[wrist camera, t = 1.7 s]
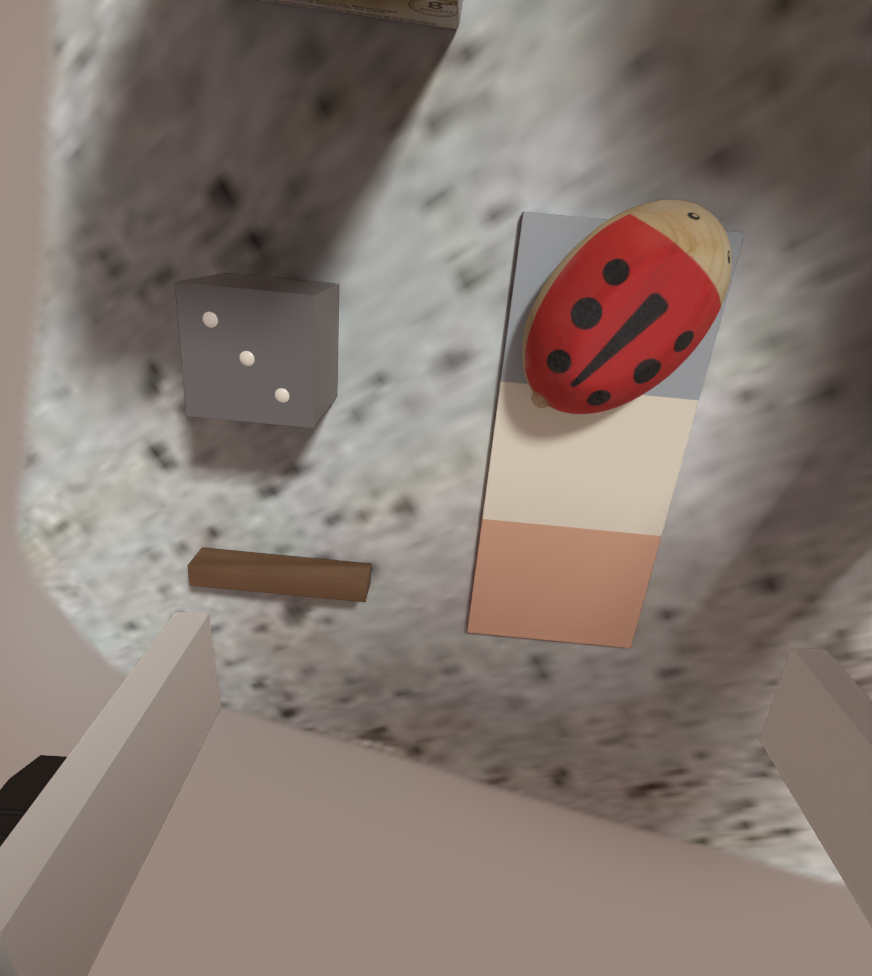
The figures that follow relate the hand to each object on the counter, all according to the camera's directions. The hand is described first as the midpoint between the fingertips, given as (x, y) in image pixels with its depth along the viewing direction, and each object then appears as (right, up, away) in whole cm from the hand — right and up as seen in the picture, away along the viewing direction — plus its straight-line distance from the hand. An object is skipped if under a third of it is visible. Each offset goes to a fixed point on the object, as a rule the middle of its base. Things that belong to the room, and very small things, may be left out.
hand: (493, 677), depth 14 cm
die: (-8, +11, +13) cm, 19 cm away
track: (+6, +6, +15) cm, 17 cm away
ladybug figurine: (+6, +12, +12) cm, 18 cm away
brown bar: (-9, 0, +18) cm, 20 cm away
